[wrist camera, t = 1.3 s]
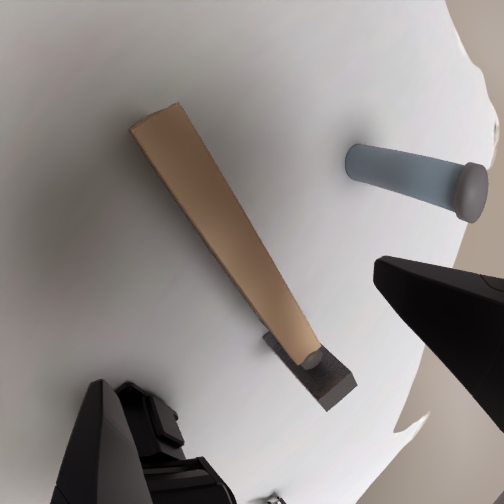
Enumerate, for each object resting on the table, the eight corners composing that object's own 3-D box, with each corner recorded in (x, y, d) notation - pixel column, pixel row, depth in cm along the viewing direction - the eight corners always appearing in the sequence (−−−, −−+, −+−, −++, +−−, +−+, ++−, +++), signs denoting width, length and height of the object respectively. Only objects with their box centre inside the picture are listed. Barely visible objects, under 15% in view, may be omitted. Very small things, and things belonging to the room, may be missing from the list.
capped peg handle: (350, 192, 24) (466, 234, 15) (336, 153, 22) (463, 183, 13) (377, 170, 25) (488, 203, 16) (365, 133, 23) (486, 155, 14)
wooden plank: (263, 328, 25) (304, 375, 20) (124, 132, 15) (133, 130, 10) (282, 313, 25) (327, 356, 20) (154, 111, 16) (178, 101, 11)
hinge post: (273, 351, 27) (326, 411, 20) (262, 337, 26) (317, 400, 19) (299, 330, 27) (357, 385, 21) (290, 314, 26) (351, 371, 20)
